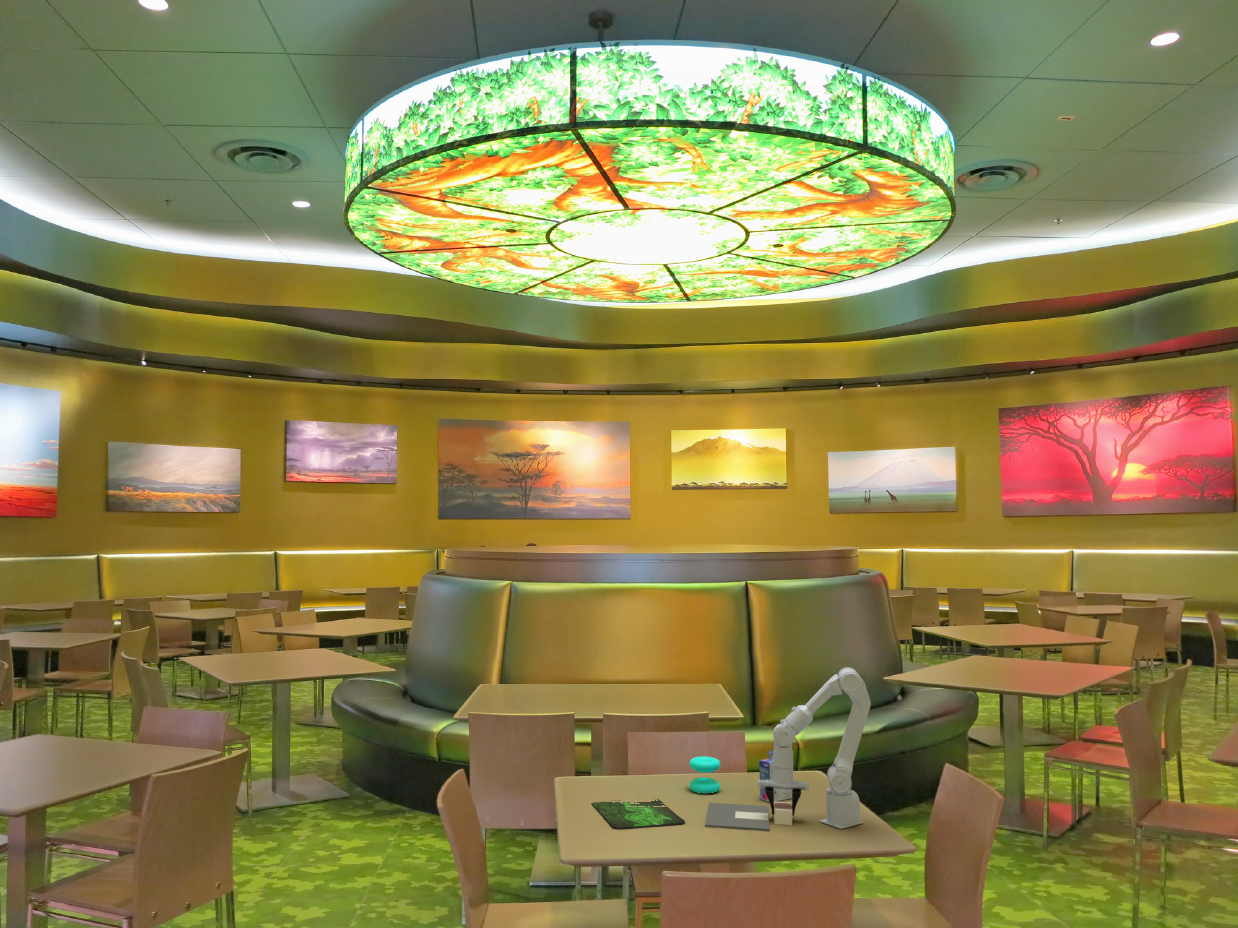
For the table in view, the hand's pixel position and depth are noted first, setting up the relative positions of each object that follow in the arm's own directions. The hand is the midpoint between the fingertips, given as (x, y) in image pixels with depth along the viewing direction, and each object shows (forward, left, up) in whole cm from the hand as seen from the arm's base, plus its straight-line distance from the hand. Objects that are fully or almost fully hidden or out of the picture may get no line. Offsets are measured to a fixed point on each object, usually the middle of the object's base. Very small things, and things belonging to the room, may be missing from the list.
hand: (782, 814), depth 266 cm
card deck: (0, 0, -2) cm, 2 cm away
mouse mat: (+32, -29, -2) cm, 43 cm away
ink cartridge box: (-14, -17, -2) cm, 22 cm away
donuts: (-1, -36, -2) cm, 36 cm away
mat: (+9, -9, -2) cm, 13 cm away
